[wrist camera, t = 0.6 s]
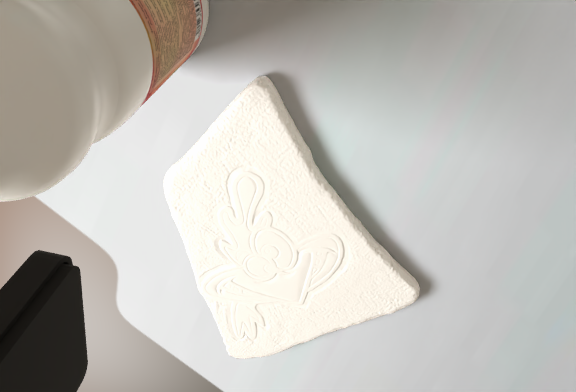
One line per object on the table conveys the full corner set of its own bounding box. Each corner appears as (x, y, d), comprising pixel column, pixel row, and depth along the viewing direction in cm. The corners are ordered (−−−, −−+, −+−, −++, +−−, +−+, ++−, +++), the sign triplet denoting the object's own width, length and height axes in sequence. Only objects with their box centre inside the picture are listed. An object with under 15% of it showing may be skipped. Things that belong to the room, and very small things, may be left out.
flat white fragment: (422, 278, 51) (278, 58, 40) (427, 304, 48) (273, 73, 38) (243, 350, 58) (83, 179, 48) (238, 376, 55) (66, 200, 45)
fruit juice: (235, -21, 37) (-16, 182, 13) (180, 87, 42) (-76, 375, 18) (112, -102, 35) (-418, -34, 12) (70, 20, 40) (-366, 240, 17)
